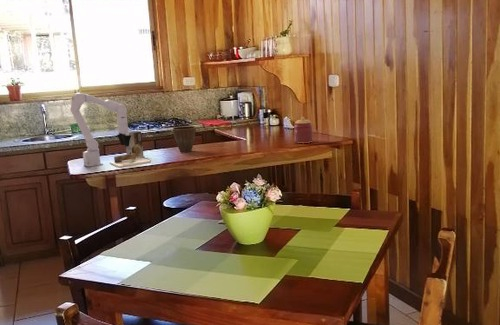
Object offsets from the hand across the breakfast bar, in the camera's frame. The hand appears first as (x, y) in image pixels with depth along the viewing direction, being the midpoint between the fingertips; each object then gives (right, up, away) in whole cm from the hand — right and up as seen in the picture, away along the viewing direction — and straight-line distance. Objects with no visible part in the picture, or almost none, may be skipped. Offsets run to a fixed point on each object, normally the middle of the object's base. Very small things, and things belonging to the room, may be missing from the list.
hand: (124, 145), depth 319 cm
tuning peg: (+1, -9, -4) cm, 10 cm away
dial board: (+5, -11, -6) cm, 13 cm away
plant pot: (+35, -3, +23) cm, 42 cm away
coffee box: (+3, -7, +14) cm, 16 cm away
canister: (+115, +3, +34) cm, 120 cm away
